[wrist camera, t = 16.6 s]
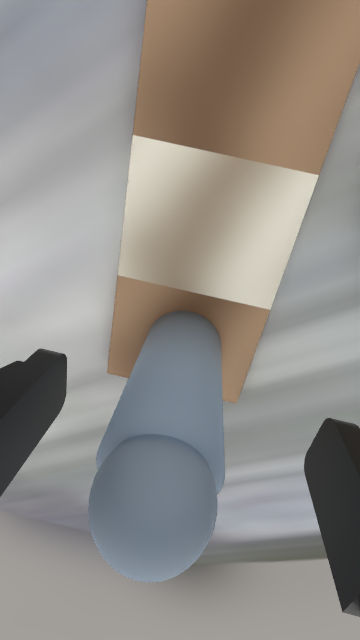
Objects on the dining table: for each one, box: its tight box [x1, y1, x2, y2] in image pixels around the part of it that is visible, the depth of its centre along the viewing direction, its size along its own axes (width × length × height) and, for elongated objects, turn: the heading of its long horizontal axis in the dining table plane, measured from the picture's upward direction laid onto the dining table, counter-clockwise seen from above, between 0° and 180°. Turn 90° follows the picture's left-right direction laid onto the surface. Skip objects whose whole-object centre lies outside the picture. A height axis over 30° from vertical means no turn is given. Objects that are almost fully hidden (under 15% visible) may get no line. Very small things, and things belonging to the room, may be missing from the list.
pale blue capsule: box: [88, 311, 225, 582], centre depth 10 cm, size 4×4×9 cm
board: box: [107, 0, 360, 403], centre depth 11 cm, size 7×22×1 cm, turn 169°
